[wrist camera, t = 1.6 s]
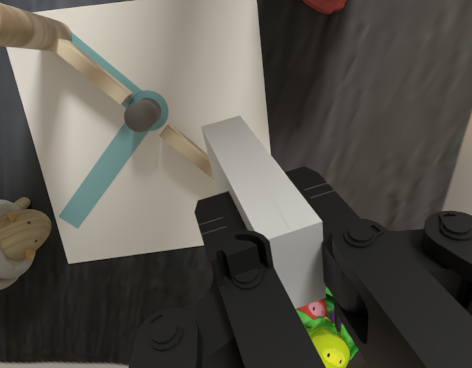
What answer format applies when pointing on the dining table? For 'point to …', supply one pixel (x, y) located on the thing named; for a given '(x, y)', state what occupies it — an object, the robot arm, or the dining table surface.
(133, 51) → the card
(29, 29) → the wooden post with ball
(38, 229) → the toy sheep
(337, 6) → the stacking bear
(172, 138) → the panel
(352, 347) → the fruit basket
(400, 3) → the dining table surface
